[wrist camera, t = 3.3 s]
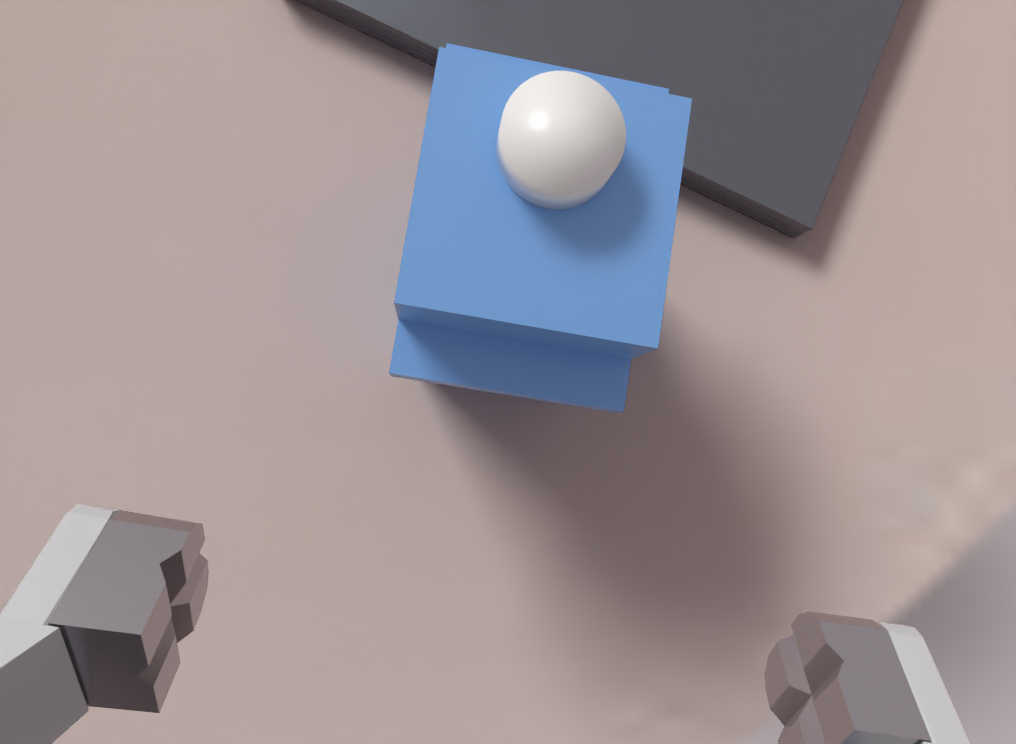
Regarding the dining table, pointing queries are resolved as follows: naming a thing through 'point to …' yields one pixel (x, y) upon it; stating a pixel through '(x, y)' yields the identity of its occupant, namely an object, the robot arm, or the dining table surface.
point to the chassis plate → (688, 75)
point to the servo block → (538, 230)
